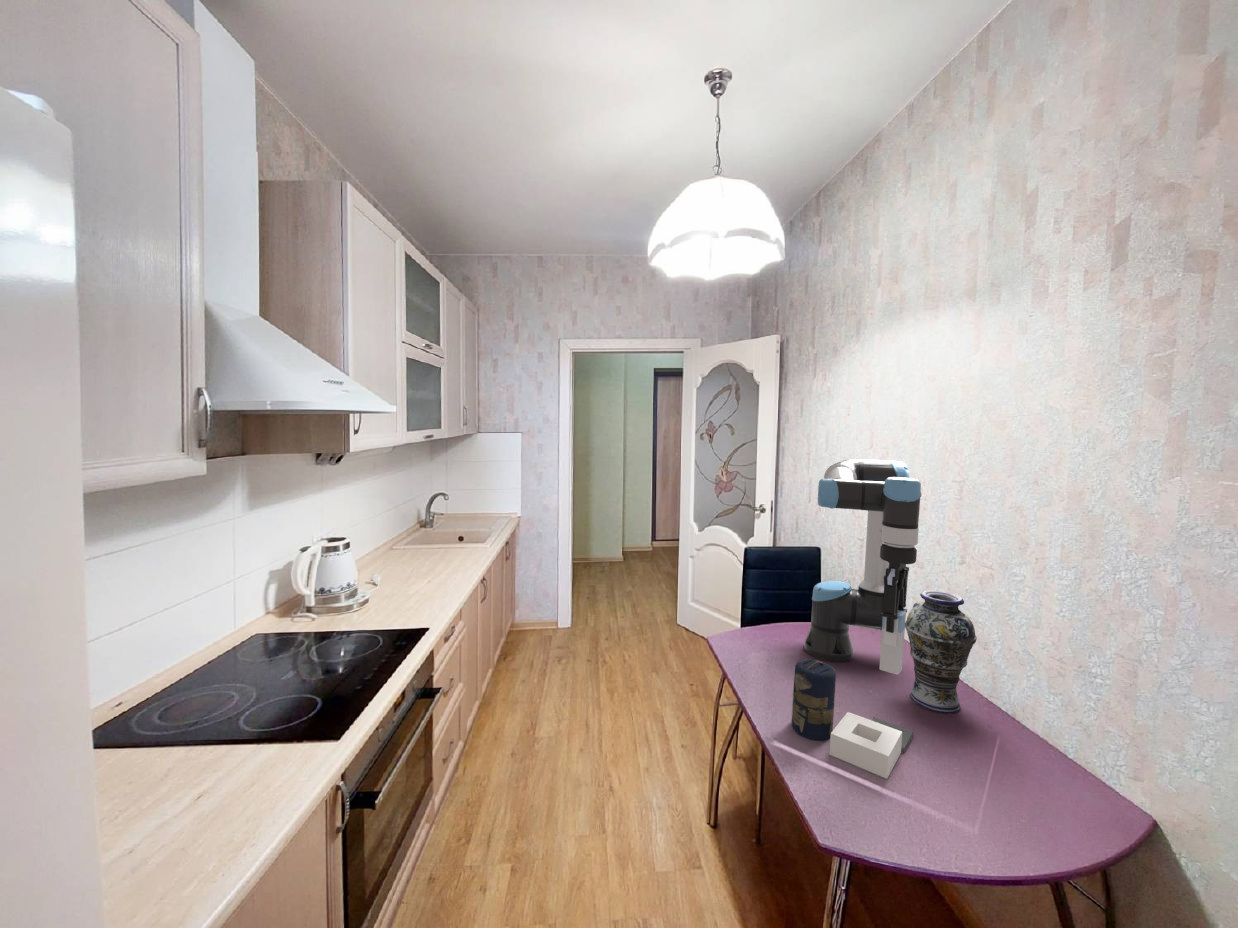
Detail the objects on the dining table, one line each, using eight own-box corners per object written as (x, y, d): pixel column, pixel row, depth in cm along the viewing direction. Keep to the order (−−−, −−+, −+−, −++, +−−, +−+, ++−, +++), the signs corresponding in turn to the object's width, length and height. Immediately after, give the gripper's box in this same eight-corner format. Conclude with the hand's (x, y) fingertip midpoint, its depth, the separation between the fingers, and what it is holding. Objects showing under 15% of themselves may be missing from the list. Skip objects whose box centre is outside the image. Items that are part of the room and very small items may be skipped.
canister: (783, 725, 132) (786, 656, 130) (814, 718, 135) (817, 651, 134) (808, 747, 123) (812, 673, 121) (841, 740, 126) (845, 668, 125)
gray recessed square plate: (873, 724, 133) (873, 716, 133) (912, 738, 127) (913, 731, 127) (862, 740, 126) (862, 732, 126) (903, 756, 120) (904, 748, 120)
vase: (943, 724, 134) (951, 610, 131) (885, 691, 149) (892, 589, 147) (986, 712, 140) (995, 602, 137) (927, 682, 156) (934, 583, 153)
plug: (883, 663, 127) (887, 607, 126) (902, 669, 125) (905, 611, 124) (879, 669, 124) (882, 611, 123) (898, 674, 122) (901, 616, 121)
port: (846, 735, 128) (847, 711, 128) (900, 756, 120) (902, 731, 120) (829, 758, 119) (830, 733, 119) (886, 782, 111) (888, 756, 111)
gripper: (890, 536, 131) (884, 627, 133) (871, 547, 118) (865, 648, 120) (924, 540, 126) (918, 635, 128) (908, 553, 113) (901, 658, 115)
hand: (892, 641), depth 124 cm, fingers closed on plug, 4 cm apart
